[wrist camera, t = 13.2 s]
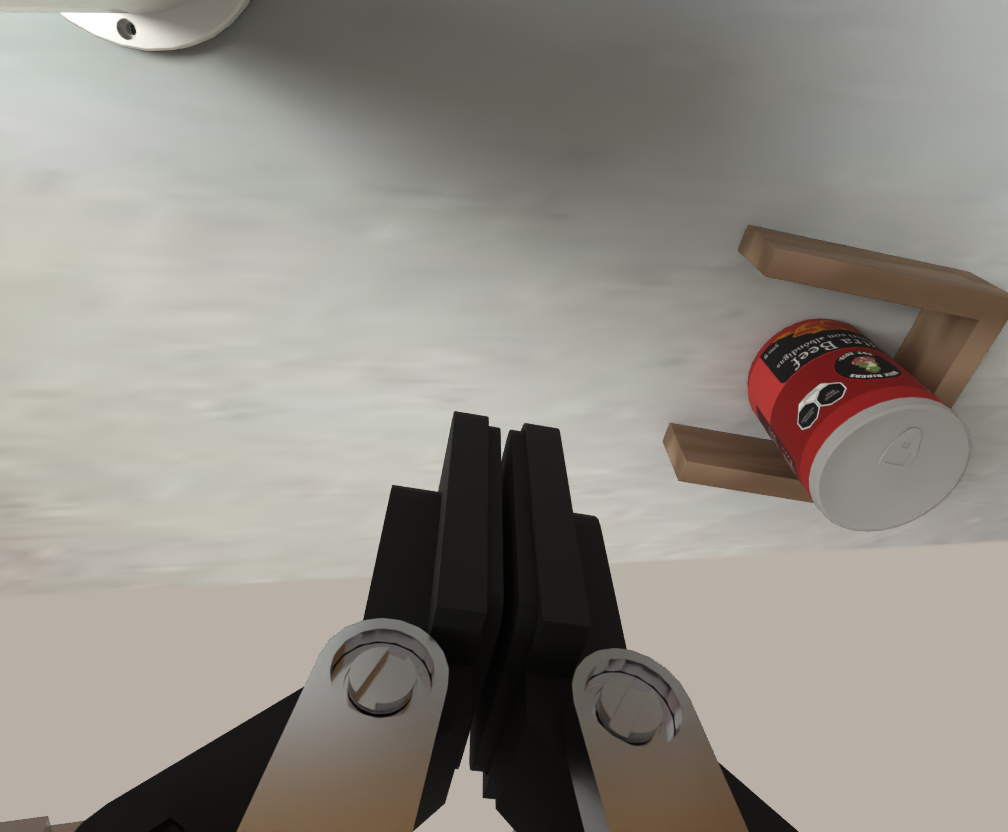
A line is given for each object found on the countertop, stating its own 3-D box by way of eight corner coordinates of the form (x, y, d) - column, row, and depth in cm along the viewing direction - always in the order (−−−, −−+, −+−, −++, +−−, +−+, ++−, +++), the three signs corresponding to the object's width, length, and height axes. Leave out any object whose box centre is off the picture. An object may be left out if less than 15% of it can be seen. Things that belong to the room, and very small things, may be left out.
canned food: (877, 310, 40) (995, 398, 31) (850, 421, 45) (947, 529, 35) (751, 318, 41) (830, 409, 31) (736, 428, 45) (801, 537, 35)
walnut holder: (748, 224, 38) (777, 248, 34) (968, 271, 39) (1020, 299, 35) (662, 441, 45) (678, 480, 41) (850, 473, 47) (882, 514, 43)
